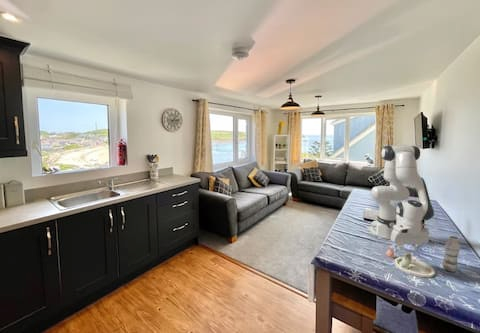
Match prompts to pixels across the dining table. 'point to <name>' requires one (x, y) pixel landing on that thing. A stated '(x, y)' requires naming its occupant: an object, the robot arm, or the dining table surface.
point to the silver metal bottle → (451, 254)
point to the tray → (416, 268)
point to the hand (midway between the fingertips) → (408, 249)
